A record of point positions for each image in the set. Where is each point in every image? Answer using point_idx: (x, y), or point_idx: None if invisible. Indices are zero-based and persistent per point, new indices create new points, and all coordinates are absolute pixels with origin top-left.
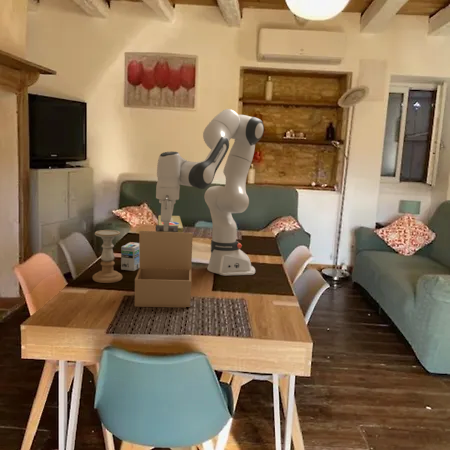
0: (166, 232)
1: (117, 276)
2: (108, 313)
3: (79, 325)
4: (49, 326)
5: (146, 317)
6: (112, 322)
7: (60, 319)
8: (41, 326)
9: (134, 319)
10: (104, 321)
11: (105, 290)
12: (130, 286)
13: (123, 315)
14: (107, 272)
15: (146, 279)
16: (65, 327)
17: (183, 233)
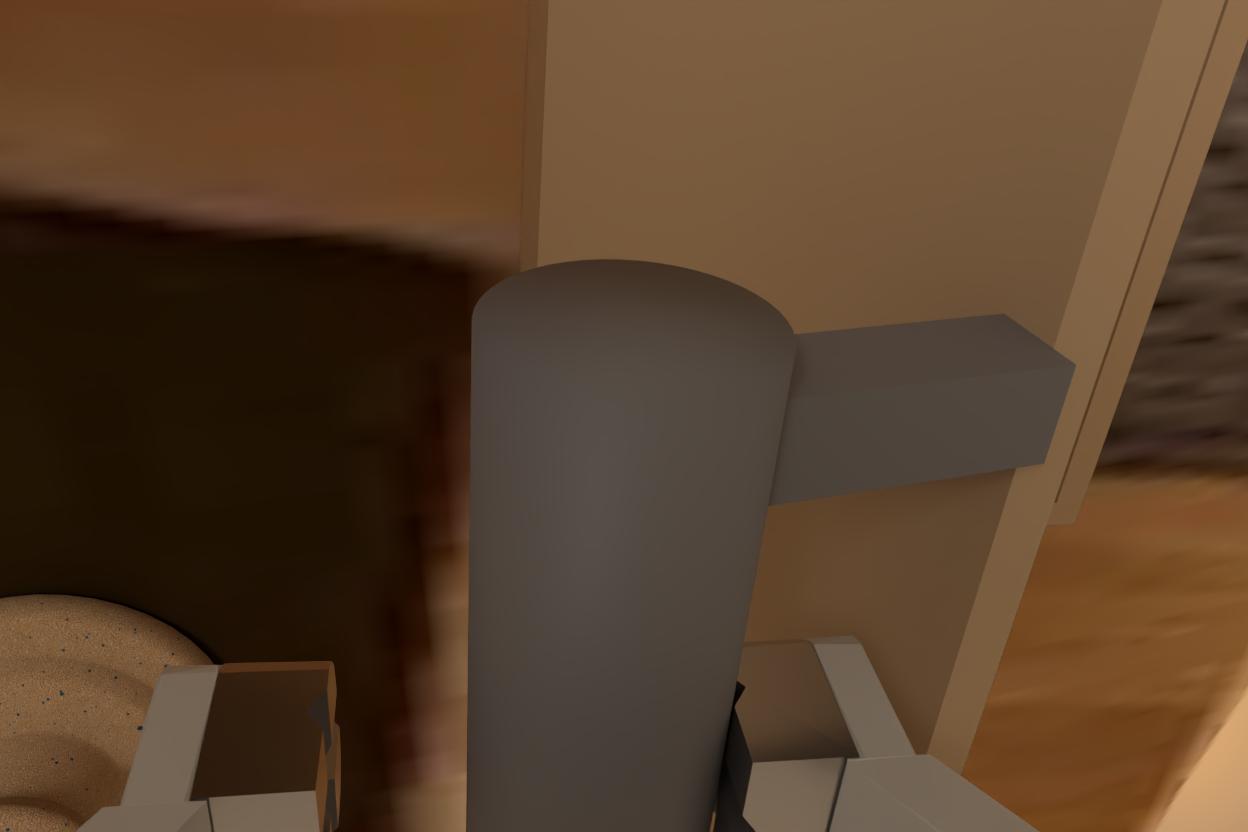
0: (1003, 644)
1: (90, 657)
2: (1052, 528)
3: (1218, 647)
4: (1176, 780)
5: (1230, 224)
6: (1241, 469)
7: (1083, 763)
8: (1162, 812)
9: (1239, 321)
10: (1203, 523)
11: (466, 657)
12: (302, 471)
13: (1126, 416)
14: (111, 777)
15: (1098, 403)
16: (1222, 706)
17: (1198, 3)
